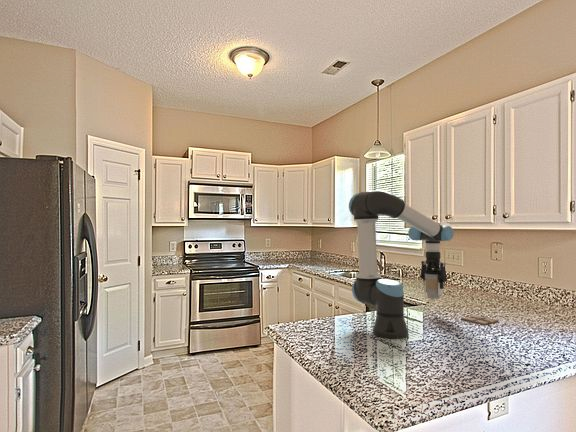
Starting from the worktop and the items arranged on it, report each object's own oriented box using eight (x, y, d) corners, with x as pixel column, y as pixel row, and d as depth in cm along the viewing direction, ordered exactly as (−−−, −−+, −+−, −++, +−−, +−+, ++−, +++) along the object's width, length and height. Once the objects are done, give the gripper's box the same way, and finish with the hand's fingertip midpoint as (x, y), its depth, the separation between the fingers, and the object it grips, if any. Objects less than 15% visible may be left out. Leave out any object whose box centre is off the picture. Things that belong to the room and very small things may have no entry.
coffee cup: (440, 300, 183) (439, 271, 184) (421, 298, 189) (421, 269, 189) (444, 297, 190) (444, 269, 191) (426, 295, 196) (426, 268, 197)
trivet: (483, 325, 169) (483, 322, 169) (461, 319, 180) (461, 317, 180) (498, 321, 175) (498, 319, 175) (475, 316, 186) (475, 314, 186)
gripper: (454, 252, 183) (455, 296, 182) (422, 250, 202) (422, 290, 200) (445, 252, 180) (445, 297, 179) (412, 250, 198) (413, 291, 197)
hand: (433, 293), depth 190 cm, fingers closed on coffee cup, 8 cm apart
